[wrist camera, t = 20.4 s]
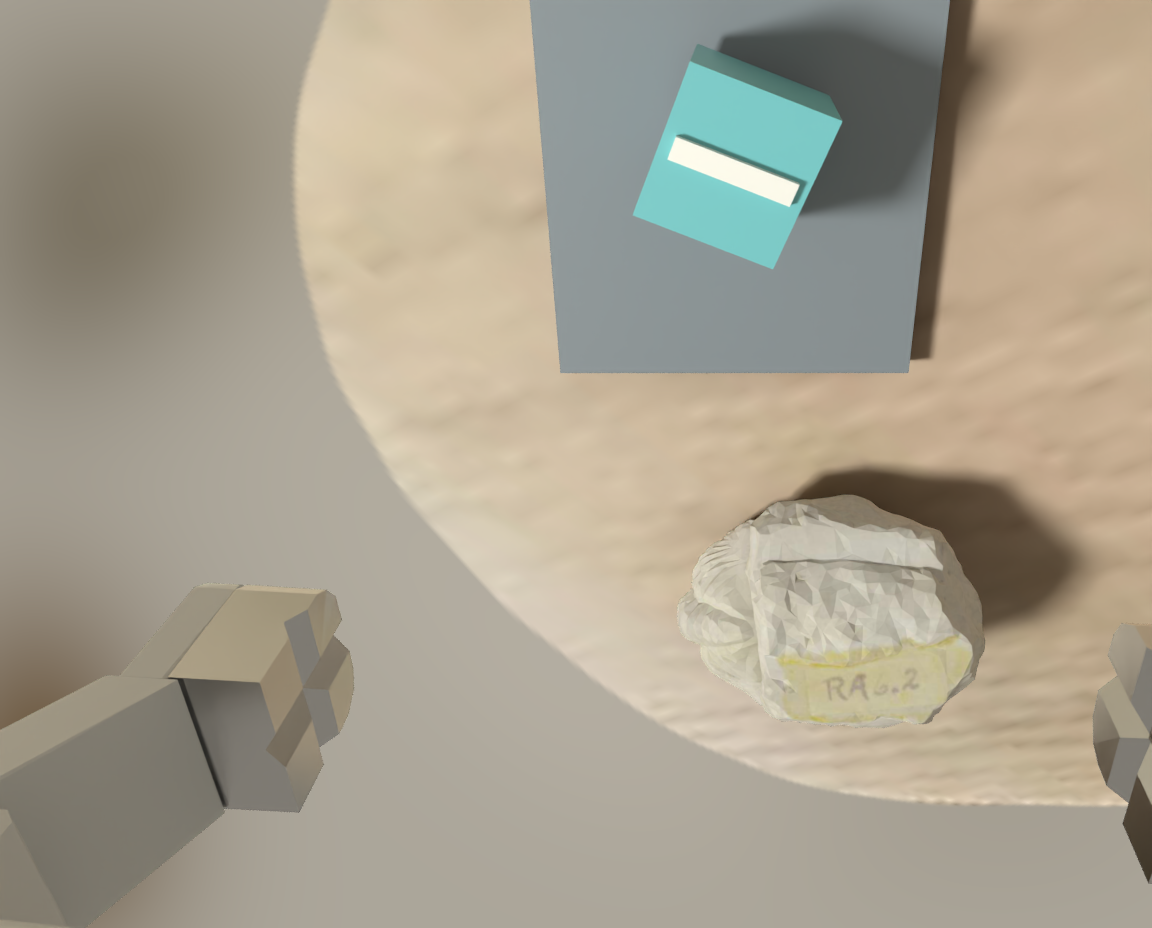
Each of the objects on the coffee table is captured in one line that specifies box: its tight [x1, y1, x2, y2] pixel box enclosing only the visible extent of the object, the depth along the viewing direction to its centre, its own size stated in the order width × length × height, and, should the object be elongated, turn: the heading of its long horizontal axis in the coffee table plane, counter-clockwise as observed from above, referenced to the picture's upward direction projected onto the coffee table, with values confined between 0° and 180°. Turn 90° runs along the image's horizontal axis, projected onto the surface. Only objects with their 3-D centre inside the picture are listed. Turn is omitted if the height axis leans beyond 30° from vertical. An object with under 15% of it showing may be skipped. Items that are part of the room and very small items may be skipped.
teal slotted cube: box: [633, 44, 842, 269], centre depth 31 cm, size 5×5×5 cm
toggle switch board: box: [530, 0, 950, 373], centre depth 33 cm, size 18×14×6 cm
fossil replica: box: [677, 495, 985, 728], centre depth 40 cm, size 12×8×10 cm
